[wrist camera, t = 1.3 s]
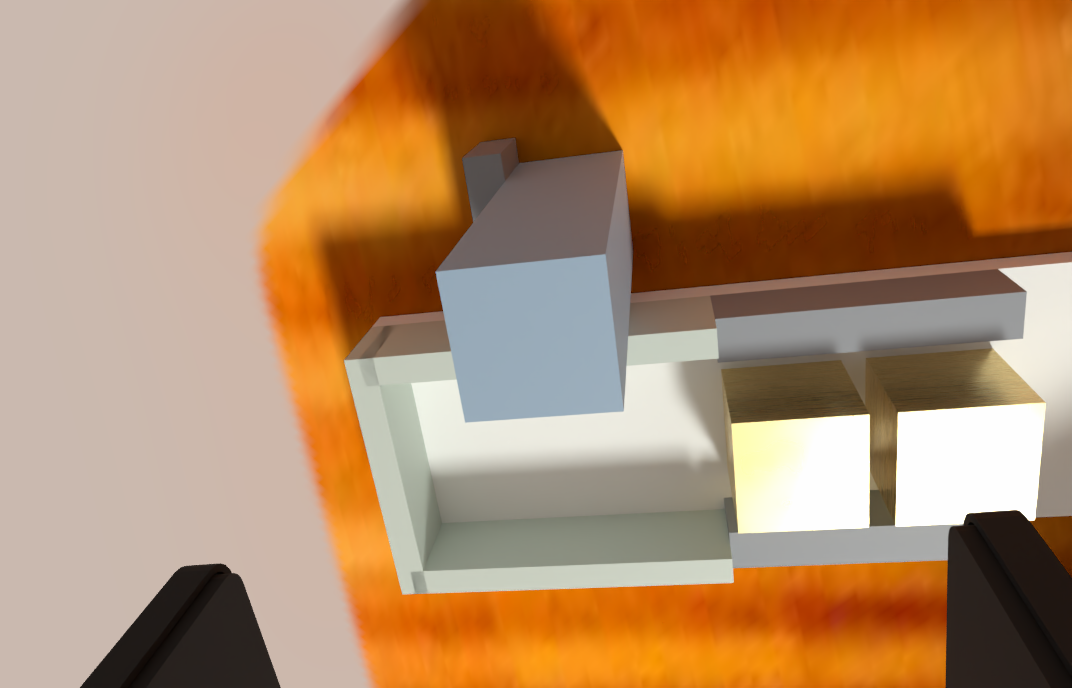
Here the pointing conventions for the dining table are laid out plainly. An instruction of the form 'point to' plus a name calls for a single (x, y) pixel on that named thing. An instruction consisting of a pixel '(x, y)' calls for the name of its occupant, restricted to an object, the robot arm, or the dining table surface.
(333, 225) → the dining table surface
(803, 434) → the block
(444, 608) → the dining table surface
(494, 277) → the block with small nub
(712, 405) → the slot board
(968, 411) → the block
